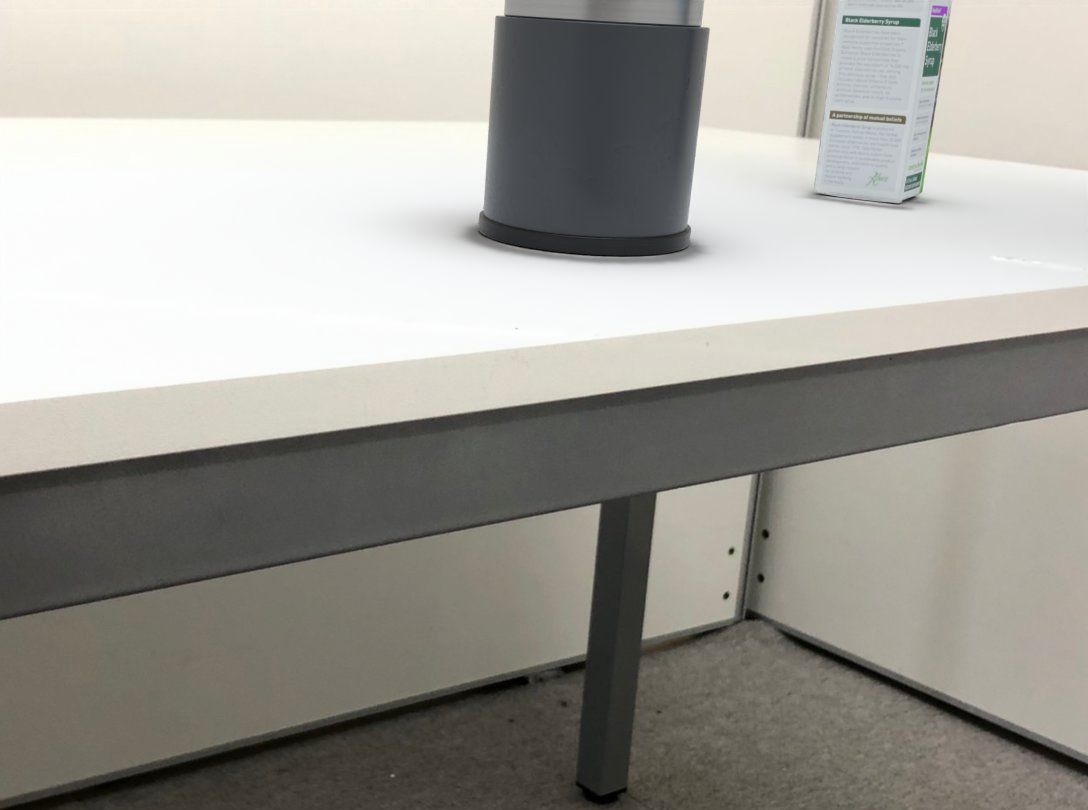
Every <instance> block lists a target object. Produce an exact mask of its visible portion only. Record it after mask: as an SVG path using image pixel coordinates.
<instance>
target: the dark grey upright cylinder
mask: <svg viewBox="0 0 1088 810" xmlns="http://www.w3.org/2000/svg"><path fill="white" fill-rule="evenodd" d="M704 7H705V0H504V7H503V8H504V9H503V10H504V11H503V15H495V17H494V32H493V45H492V46H493V48H492V49H493V50H492V65H491V81H490V99H489V112H488V113H489V114H488V130H487V131H488V132H487V144H486V145H487V146H486V160H485V161H486V164H485V179H484V195H483V196H484V197H483V210H481V211H479V214H478V225H477V229H478V231H479V233H480V234H481V235H483V236H485V237H487V238H489V239H491V240H494V241H497V242H501V243H504V244H508V245H512V246H517V247H522V248H528V249H534V250H540V251H547V252H557V253H563V254H577V255H588V256H589V255H592V256H621V257H622V256H623V257H624V256H625V257H626V256H627V257H629V256H652V255H663V254H668V253H674V252H678V251H682V250H684V249H686V248H688V247H689V245H690V243H691V242H690V241H691V233H692V227H691V226H690V224H688V222H689V215H690V206H691V197H692V189H693V179H694V171H695V162H696V155H697V146H698V137H699V128H700V120H701V110H702V102H703V93H704V84H705V77H706V76H705V75H706V68H707V58H708V49H709V42H710V41H709V40H710V31H711V29H710V27H707V26H702V25H703V15H704Z"/></svg>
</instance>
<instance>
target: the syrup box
mask: <svg viewBox="0 0 1088 810" xmlns="http://www.w3.org/2000/svg"><path fill="white" fill-rule="evenodd" d="M837 4H838V5H837V10H836V19H835V26H834V34H833V40H832V41H833V42H832V49H831V55H830V64H829V70H828V71H829V72H828V78H827V86H826V93H825V94H826V95H825V102H824V109H823V116H822V117H823V118H822V125H821V130H820V131H821V132H820V139H819V146H818V147H819V148H818V154H817V161H816V169H815V170H816V171H815V177H814V184H813V185H814V186H813V188H814V189H813V190H814V192H815V193H817V194H821V195H827V196H833V197H838V198H839V197H840V198H845V199H846V198H847V199H853V200H854V199H855V200H862V201H872V202H880V203H881V202H883V203H894V204H902V203H903V201H904V200H908V199H910V198H913V197H916V196H919V195H921V194H922V192H923V189H924V185H925V184H924V183H925V177H926V171H927V163H928V158H929V152H930V146H931V145H930V144H931V140H932V132H933V126H934V120H935V114H936V107H937V102H938V95H939V89H940V83H941V76H942V69H943V64H944V58H945V50H946V45H947V44H946V43H947V38H948V32H949V26H950V25H949V24H950V18H951V13H952V6H953V0H838V3H837Z"/></svg>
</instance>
